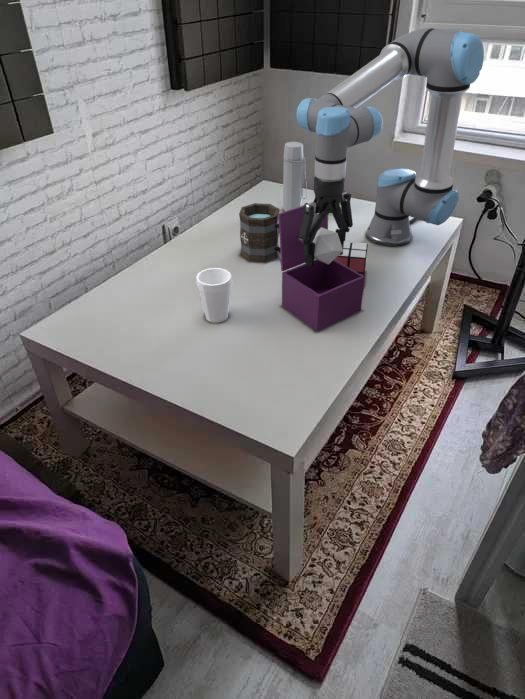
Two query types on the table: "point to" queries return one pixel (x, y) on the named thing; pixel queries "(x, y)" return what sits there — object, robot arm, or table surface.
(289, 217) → the lid
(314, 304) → the open box
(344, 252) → the puzzle cube
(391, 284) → the table surface
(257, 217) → the mug
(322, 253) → the die
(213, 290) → the foam cup
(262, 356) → the table surface
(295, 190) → the water bottle
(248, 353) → the table surface
